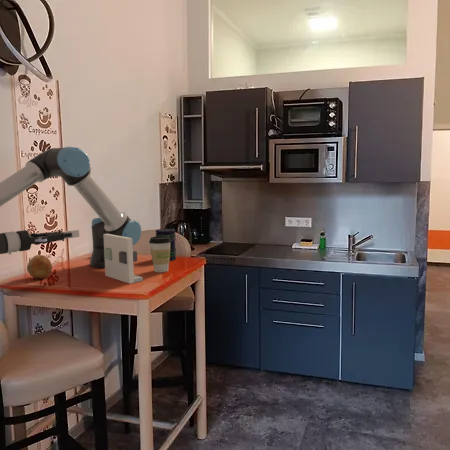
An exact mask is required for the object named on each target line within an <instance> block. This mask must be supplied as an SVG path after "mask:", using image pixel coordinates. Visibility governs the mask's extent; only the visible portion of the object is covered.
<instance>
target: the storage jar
mask: <svg viewBox="0 0 450 450" xmlns="http://www.w3.org/2000/svg"><path fill="white" fill-rule="evenodd" d="M157 236H168V237H170V240H171V242H170V259H169V262H172V261H176V260H177V248H176V228H158V229H155V237H157Z"/></svg>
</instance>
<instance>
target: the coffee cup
mask: <svg viewBox="0 0 450 450" xmlns="http://www.w3.org/2000/svg"><path fill="white" fill-rule="evenodd" d="M170 242H171V240H170V237H168V236H157V237H156V236H151V237H150V238H149V241H148V243H149V245H150V246H149V247H150V254H151V260H152V264H153V271H154V272H155V273H166V271H167V272H169V269H170V267H169V266H170V265H169V264H170V261H169V259H170Z"/></svg>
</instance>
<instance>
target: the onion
mask: <svg viewBox="0 0 450 450" xmlns="http://www.w3.org/2000/svg"><path fill="white" fill-rule="evenodd" d="M26 269H27V272H28V274H29V276H31V278H33V279H45V278H46V277H48V276H49V275H50V274H51V272H52V269H53V265H52V262H51V260H50V259H49V258H48V257H47V256H45V255H42V254H36V255H34V256H32V258H30V259H29V262H28V263H27V266H26Z"/></svg>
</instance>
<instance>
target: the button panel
mask: <svg viewBox="0 0 450 450" xmlns="http://www.w3.org/2000/svg"><path fill="white" fill-rule="evenodd" d="M103 236H104V249H108V248H111V249H112V259H110V260H109V259H106V258H105V267H104V271H105V275H104V276H106V277H108V278H111V279H115V280H117V281H121V282H124V283H127V284H134V283H140V282H144V281H143V280H144V278H143V276H139V275H136V274H135V271H134V270H135V268H134V262H133V251H134V250H133V247H134V245H133V244H132V238H128V237H123V236H117V235H112V234H103ZM119 252H126V253H127V263H121V262H119ZM104 256H105V250H104Z"/></svg>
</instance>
